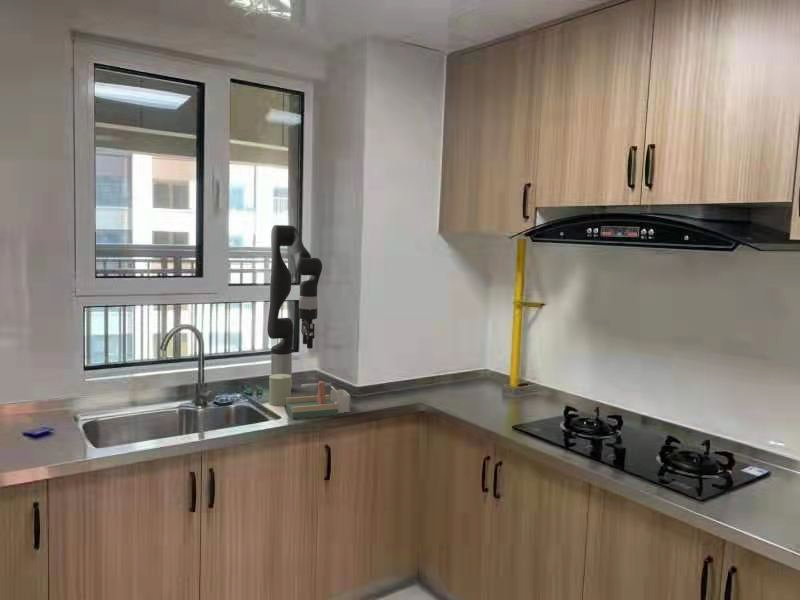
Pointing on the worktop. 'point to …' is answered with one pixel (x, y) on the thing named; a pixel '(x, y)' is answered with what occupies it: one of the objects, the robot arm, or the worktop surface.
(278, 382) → the can
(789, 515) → the worktop surface
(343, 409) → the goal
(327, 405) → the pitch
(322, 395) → the kicker
